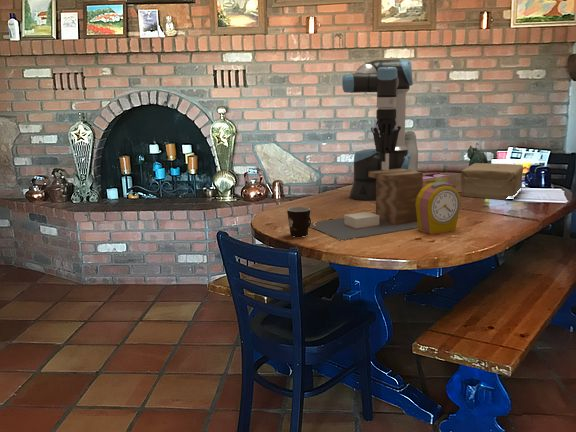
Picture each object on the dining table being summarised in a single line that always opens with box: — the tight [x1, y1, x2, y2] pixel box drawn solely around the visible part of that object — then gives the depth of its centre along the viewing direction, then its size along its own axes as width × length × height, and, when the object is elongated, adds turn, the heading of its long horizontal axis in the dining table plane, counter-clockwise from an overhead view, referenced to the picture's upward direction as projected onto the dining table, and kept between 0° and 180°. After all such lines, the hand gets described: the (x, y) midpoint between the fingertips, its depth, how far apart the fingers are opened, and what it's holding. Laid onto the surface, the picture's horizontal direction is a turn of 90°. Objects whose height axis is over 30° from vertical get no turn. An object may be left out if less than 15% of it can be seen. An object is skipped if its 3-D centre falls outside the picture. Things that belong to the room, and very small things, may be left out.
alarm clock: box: [415, 182, 462, 235], centre depth 213 cm, size 15×8×18 cm, turn 114°
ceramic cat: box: [466, 142, 489, 167], centre depth 323 cm, size 20×6×20 cm, turn 6°
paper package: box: [460, 163, 524, 201], centre depth 279 cm, size 27×26×14 cm
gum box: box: [422, 172, 451, 188], centre depth 255 cm, size 24×8×14 cm, turn 126°
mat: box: [310, 212, 418, 241], centre depth 225 cm, size 28×44×1 cm, turn 117°
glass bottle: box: [405, 130, 419, 172], centre depth 318 cm, size 10×10×28 cm
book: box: [343, 211, 379, 229], centre depth 222 cm, size 8×11×4 cm
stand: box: [368, 168, 423, 225], centre depth 228 cm, size 14×16×20 cm
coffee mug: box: [286, 206, 312, 238], centre depth 208 cm, size 12×9×10 cm
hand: (385, 169), depth 223 cm, fingers closed
